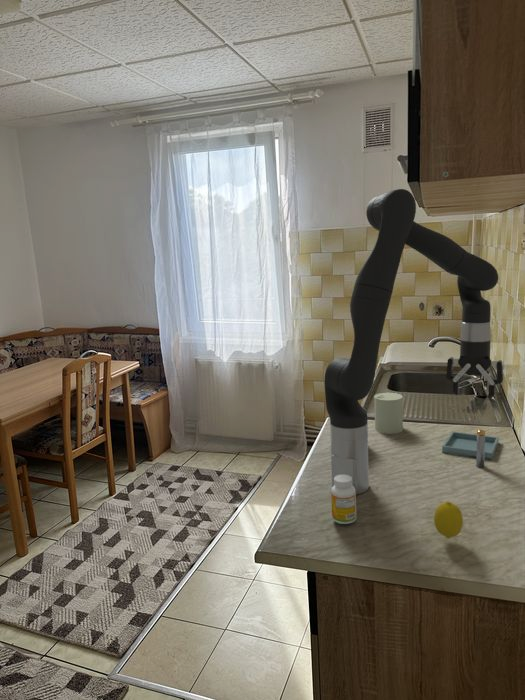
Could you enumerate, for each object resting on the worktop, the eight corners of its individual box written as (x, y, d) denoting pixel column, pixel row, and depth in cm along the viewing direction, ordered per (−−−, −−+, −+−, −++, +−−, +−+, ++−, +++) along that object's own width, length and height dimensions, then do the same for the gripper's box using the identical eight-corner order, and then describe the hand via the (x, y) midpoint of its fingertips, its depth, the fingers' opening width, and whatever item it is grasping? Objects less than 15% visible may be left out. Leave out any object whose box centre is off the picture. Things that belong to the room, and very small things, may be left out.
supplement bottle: (335, 511, 118) (333, 471, 116) (358, 514, 116) (357, 474, 114) (329, 522, 113) (328, 482, 111) (353, 526, 111) (352, 484, 109)
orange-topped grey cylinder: (483, 468, 135) (484, 432, 134) (475, 467, 137) (476, 431, 135) (484, 465, 137) (485, 430, 135) (476, 464, 138) (477, 429, 136)
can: (371, 426, 172) (370, 392, 170) (398, 424, 173) (397, 390, 171) (378, 435, 163) (378, 399, 161) (407, 433, 164) (406, 397, 162)
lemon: (447, 528, 108) (447, 493, 107) (468, 540, 103) (469, 503, 102) (428, 535, 106) (428, 500, 104) (449, 548, 101) (449, 511, 99)
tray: (491, 460, 140) (491, 453, 140) (442, 452, 147) (442, 446, 147) (498, 443, 151) (498, 437, 151) (452, 437, 158) (452, 431, 158)
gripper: (445, 339, 138) (443, 397, 141) (502, 341, 131) (500, 402, 134) (450, 335, 145) (449, 390, 148) (505, 337, 137) (503, 395, 140)
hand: (473, 396), depth 141 cm, fingers open, 8 cm apart
